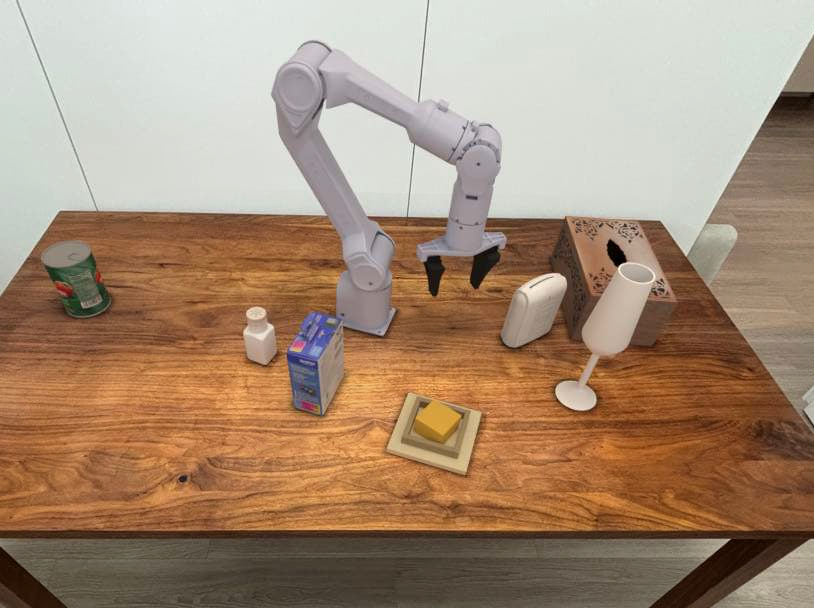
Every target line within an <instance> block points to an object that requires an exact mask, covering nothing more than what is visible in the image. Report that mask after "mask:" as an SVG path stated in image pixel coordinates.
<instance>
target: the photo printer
mask: <svg viewBox="0 0 814 608" xmlns="http://www.w3.org/2000/svg"><path fill="white" fill-rule="evenodd" d="M566 289H567V281H566V278H565V277H564V276H561V275H560V274H559V273H554V272H552V273H546V274H542V275H539V276H536V277H535V278H532V279H531V280H529V281H527V282H525V283H523V284H522V285H521V286H519V288H517V289H516V290H515V291H514V293H513V294H512V298H511V301H510V304H509V307H508V310H507V314H506V317H505V320H504V324H503V326H502V330H501V333H500V338H501V341H502V343H504V345H506V346H507V347H509V348H514V349H515V348H519V347H522V346H523V345H526V344H528V343H530V342H532V341H535V340H536V339H538V338H541V337H542V336H544V335H546V334H548V333H549V332H550V331H551V330H552V327H553V325H554V322H555V319H556V317H557V314H558V311H559V309H560V306H561V305H562V299H563V297H564V294H565V292H566Z"/></svg>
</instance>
